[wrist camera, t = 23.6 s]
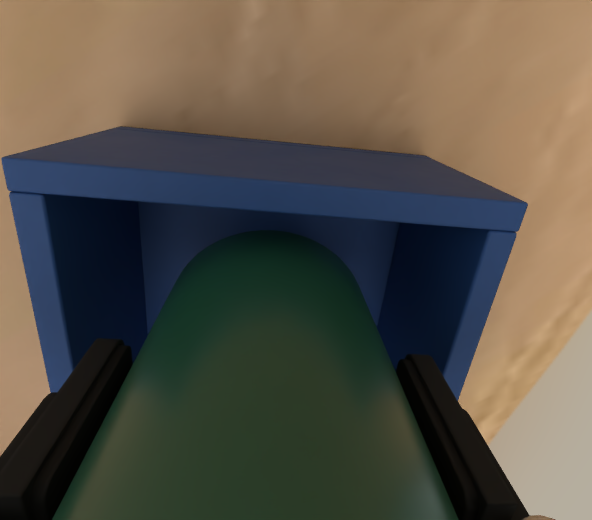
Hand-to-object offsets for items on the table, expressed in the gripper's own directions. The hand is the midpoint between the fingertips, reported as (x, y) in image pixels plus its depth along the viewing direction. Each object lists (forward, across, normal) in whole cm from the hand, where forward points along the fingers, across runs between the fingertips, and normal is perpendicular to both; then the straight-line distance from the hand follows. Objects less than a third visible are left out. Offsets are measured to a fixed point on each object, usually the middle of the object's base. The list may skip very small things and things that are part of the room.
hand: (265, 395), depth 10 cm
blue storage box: (+9, 0, +4) cm, 10 cm away
